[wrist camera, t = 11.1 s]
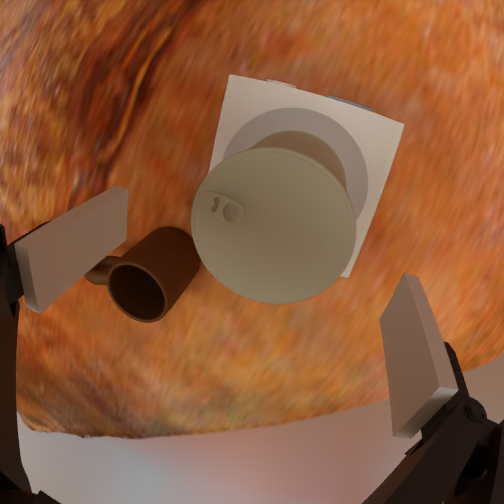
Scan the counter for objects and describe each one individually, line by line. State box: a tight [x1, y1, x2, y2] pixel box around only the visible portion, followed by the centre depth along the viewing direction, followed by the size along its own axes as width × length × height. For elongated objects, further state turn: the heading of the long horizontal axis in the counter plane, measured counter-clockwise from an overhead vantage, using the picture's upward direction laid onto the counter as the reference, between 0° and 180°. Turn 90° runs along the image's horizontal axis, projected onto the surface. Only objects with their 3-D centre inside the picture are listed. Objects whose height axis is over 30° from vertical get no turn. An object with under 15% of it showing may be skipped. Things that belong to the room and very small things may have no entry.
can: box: [191, 130, 356, 304], centre depth 22 cm, size 9×9×12 cm
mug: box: [85, 228, 199, 323], centre depth 36 cm, size 12×8×9 cm, turn 83°
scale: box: [209, 74, 405, 278], centre depth 30 cm, size 16×16×5 cm
